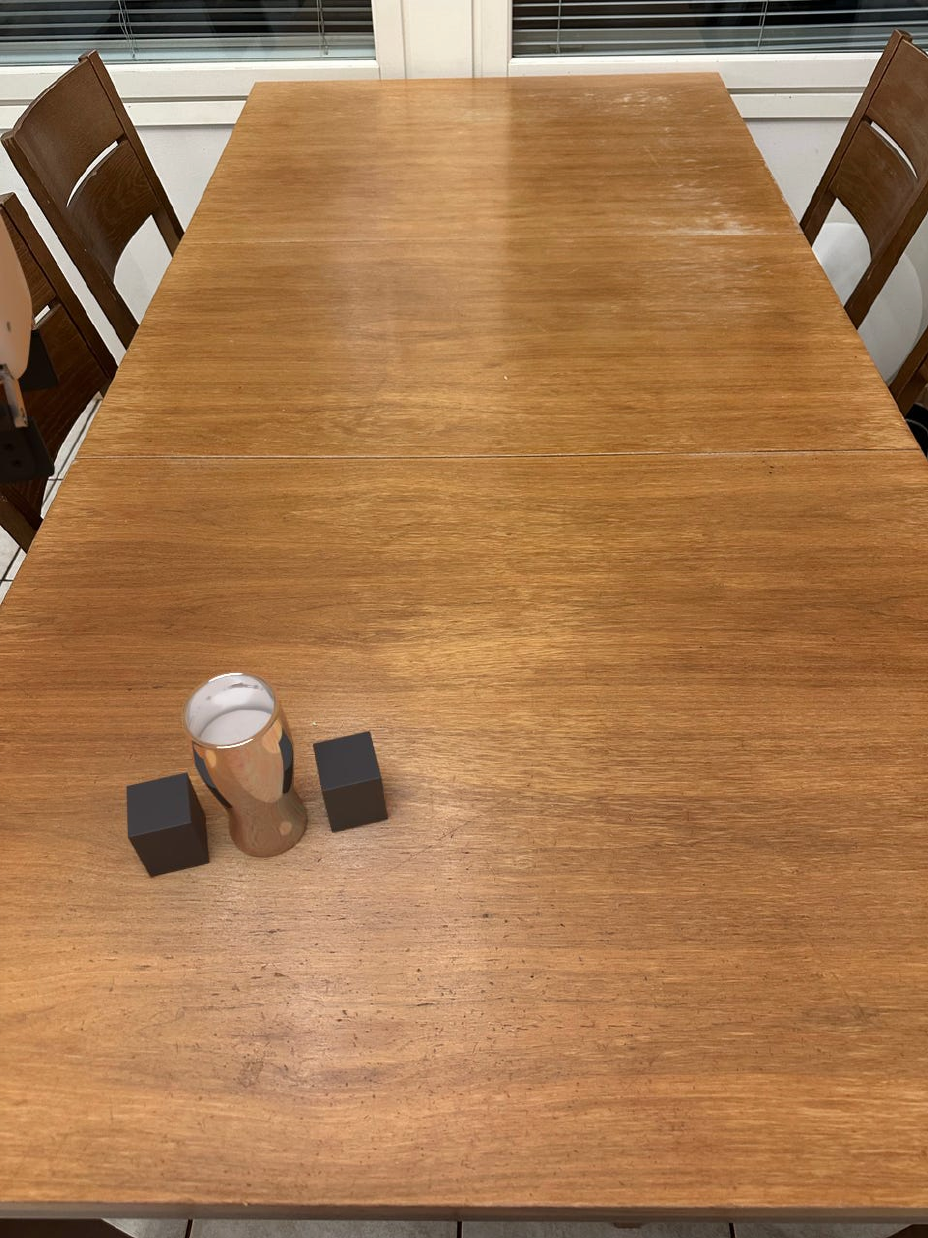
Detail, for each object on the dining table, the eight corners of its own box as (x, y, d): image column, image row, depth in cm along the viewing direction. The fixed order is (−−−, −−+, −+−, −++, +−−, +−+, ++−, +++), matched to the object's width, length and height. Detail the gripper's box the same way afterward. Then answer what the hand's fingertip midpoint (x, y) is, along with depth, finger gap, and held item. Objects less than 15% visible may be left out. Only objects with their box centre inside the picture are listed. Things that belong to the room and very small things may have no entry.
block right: (331, 833, 74) (321, 791, 70) (322, 786, 77) (312, 743, 73) (388, 819, 75) (381, 777, 70) (376, 773, 78) (370, 730, 73)
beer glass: (286, 875, 72) (249, 763, 61) (207, 846, 73) (156, 733, 62) (328, 800, 76) (299, 683, 65) (252, 775, 78) (212, 657, 67)
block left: (149, 877, 72) (127, 837, 67) (147, 827, 75) (126, 785, 70) (209, 863, 72) (191, 822, 68) (205, 813, 75) (187, 771, 71)
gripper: (-142, 97, 52) (-19, 367, 65) (-208, 234, 41) (-43, 530, 53) (-1, 81, 53) (93, 350, 66) (-26, 211, 42) (93, 505, 55)
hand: (32, 430), depth 60 cm, fingers open, 9 cm apart
